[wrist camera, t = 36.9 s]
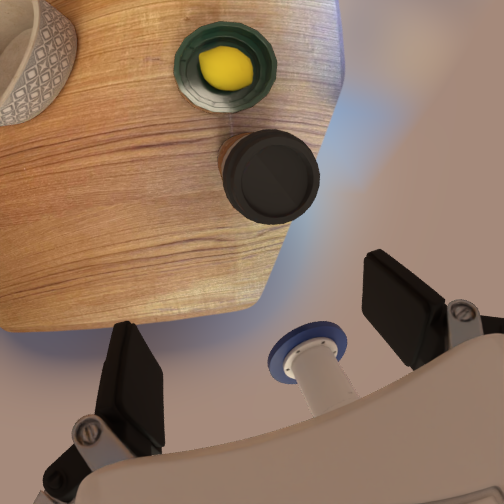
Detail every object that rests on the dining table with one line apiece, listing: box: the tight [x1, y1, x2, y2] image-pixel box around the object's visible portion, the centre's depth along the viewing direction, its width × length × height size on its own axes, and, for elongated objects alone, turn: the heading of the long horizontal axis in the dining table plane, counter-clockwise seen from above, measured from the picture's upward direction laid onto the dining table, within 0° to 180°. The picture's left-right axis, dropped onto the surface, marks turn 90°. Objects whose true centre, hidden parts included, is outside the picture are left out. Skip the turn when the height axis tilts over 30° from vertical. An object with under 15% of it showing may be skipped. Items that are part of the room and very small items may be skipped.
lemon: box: [199, 46, 253, 91], centre depth 26 cm, size 7×5×5 cm
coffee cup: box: [217, 129, 320, 225], centre depth 28 cm, size 8×8×15 cm
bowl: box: [173, 21, 277, 114], centre depth 27 cm, size 11×11×5 cm
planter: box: [0, 0, 77, 126], centre depth 15 cm, size 16×16×13 cm
